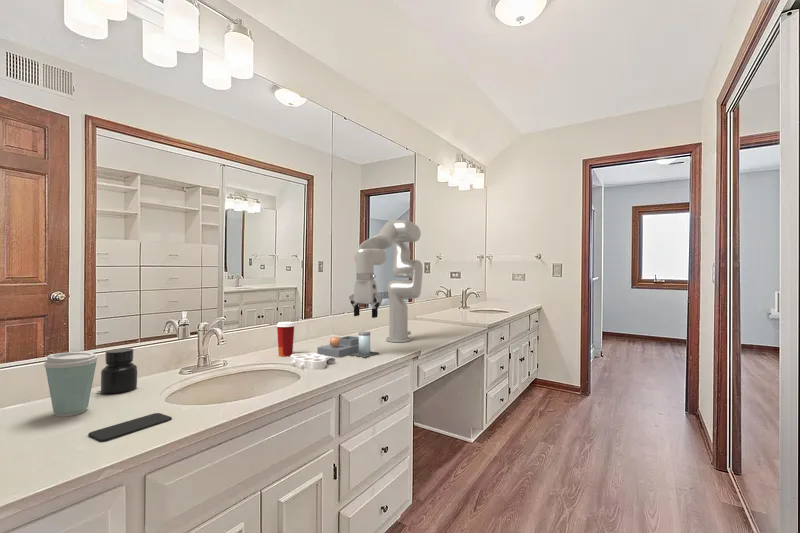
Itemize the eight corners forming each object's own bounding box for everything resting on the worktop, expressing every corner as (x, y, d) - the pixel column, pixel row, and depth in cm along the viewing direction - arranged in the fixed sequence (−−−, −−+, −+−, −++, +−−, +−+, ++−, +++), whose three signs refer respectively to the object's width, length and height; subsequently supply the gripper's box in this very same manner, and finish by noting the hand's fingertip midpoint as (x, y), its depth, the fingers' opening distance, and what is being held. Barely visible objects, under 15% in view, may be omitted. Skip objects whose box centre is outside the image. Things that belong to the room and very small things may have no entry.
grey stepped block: (347, 346, 184) (347, 335, 184) (367, 349, 178) (367, 337, 178) (317, 354, 167) (317, 341, 167) (338, 357, 161) (338, 344, 161)
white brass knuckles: (340, 365, 150) (309, 373, 138) (312, 358, 161) (281, 364, 150) (340, 356, 150) (309, 363, 138) (312, 350, 161) (281, 356, 150)
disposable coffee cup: (92, 402, 106) (92, 347, 106) (103, 411, 99) (104, 353, 99) (39, 413, 97) (40, 353, 97) (47, 424, 90) (48, 360, 91)
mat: (364, 351, 173) (364, 350, 173) (378, 353, 168) (378, 352, 168) (349, 355, 164) (350, 354, 164) (365, 358, 160) (365, 356, 160)
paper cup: (297, 353, 168) (297, 321, 168) (290, 357, 161) (291, 324, 161) (280, 353, 169) (280, 321, 169) (272, 357, 161) (273, 323, 162)
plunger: (334, 351, 171) (334, 336, 171) (342, 352, 169) (342, 337, 169) (327, 353, 167) (327, 338, 167) (335, 354, 165) (335, 339, 165)
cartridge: (363, 351, 170) (363, 331, 170) (372, 352, 167) (372, 332, 167) (356, 353, 165) (356, 332, 166) (365, 355, 163) (365, 333, 163)
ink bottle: (141, 384, 122) (142, 346, 123) (134, 392, 114) (134, 352, 114) (104, 387, 119) (105, 348, 119) (94, 396, 111) (94, 354, 111)
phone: (174, 417, 94) (102, 440, 81) (174, 421, 94) (101, 444, 81) (157, 412, 98) (86, 433, 85) (157, 415, 98) (85, 436, 85)
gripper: (386, 277, 165) (386, 316, 166) (354, 276, 174) (355, 314, 175) (376, 278, 159) (376, 319, 159) (344, 277, 168) (344, 316, 168)
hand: (365, 316), depth 167 cm, fingers open, 9 cm apart
